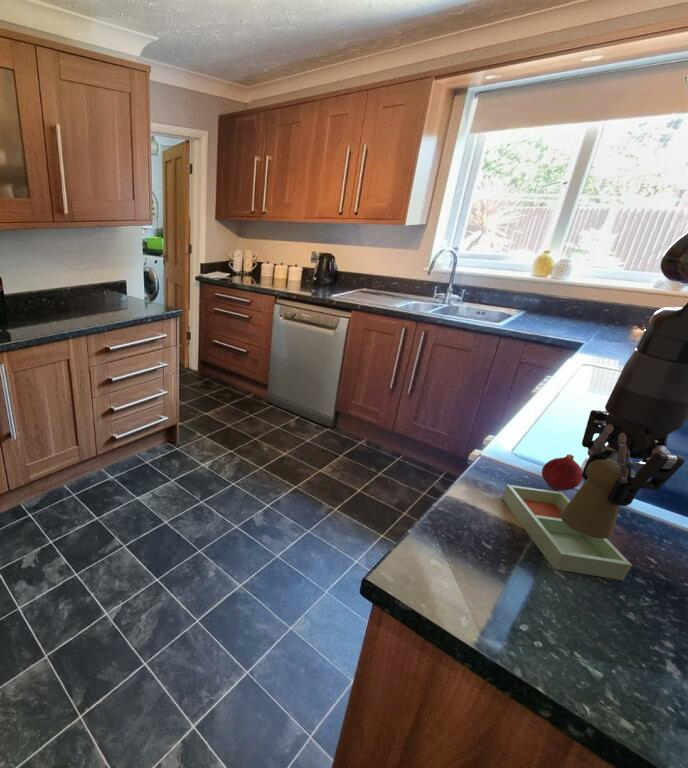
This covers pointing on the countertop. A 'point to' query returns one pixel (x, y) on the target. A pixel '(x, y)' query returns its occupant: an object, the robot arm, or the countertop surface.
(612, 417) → the robot arm
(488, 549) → the countertop surface
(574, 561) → the sorter
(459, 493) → the countertop surface
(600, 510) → the cork
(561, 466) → the red round fruit
